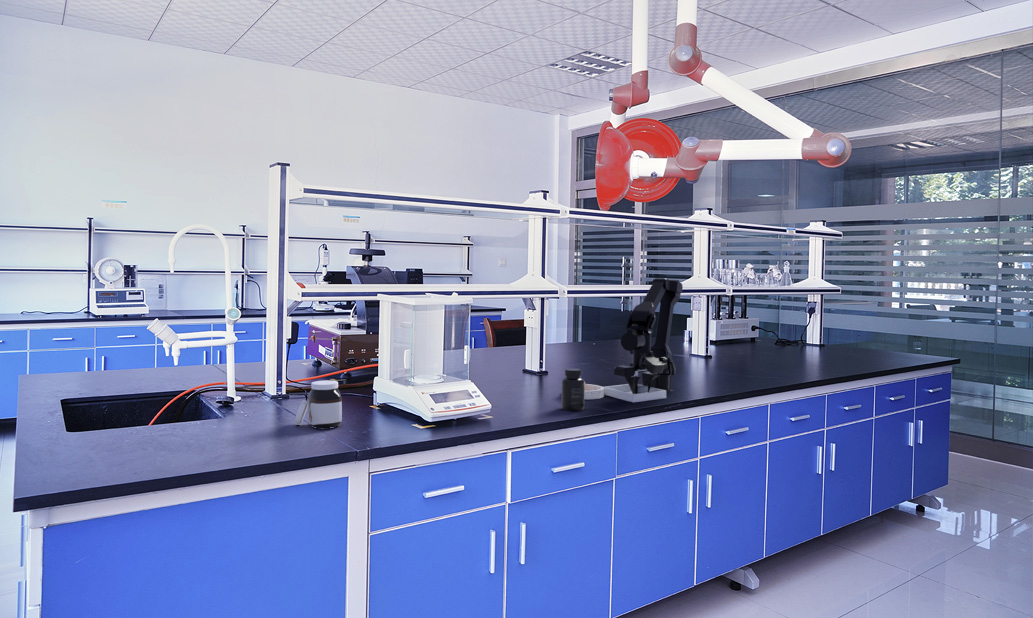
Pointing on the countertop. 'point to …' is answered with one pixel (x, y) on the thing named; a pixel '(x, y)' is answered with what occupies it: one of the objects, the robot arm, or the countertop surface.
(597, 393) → the bowl
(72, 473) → the countertop surface
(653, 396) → the parts tray
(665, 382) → the robot arm
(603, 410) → the countertop surface
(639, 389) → the grey cube
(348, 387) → the countertop surface
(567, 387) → the supplement bottle
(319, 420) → the spread jar
